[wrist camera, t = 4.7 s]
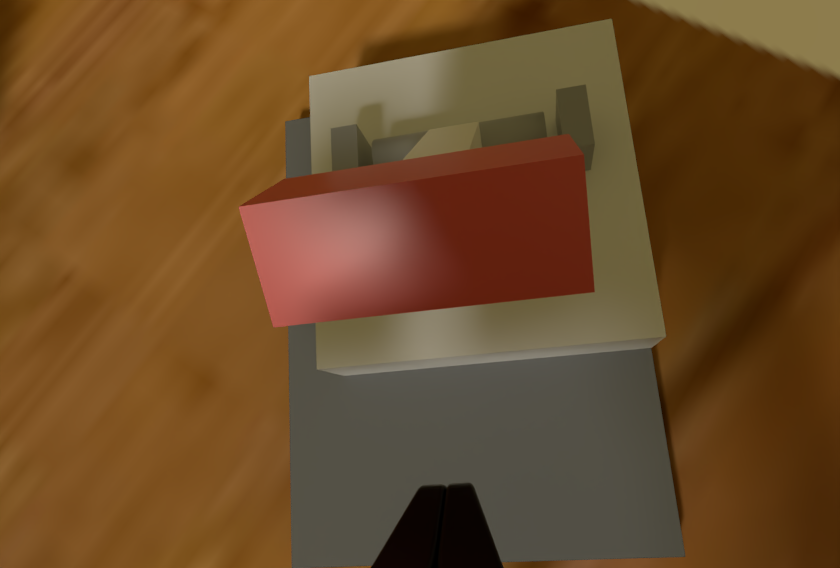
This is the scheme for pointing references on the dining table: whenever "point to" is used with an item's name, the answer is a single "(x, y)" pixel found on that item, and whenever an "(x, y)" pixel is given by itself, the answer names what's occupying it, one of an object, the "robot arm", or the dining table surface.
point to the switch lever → (427, 225)
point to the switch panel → (489, 336)
